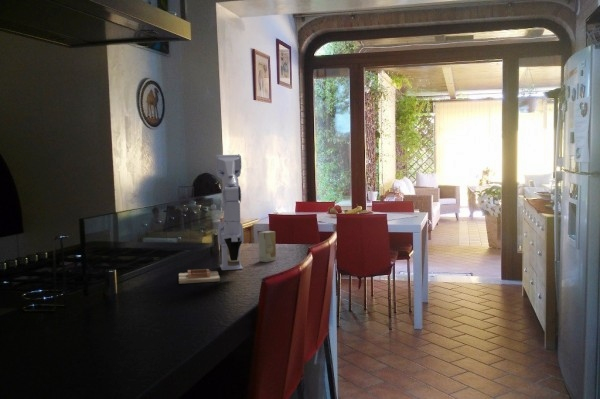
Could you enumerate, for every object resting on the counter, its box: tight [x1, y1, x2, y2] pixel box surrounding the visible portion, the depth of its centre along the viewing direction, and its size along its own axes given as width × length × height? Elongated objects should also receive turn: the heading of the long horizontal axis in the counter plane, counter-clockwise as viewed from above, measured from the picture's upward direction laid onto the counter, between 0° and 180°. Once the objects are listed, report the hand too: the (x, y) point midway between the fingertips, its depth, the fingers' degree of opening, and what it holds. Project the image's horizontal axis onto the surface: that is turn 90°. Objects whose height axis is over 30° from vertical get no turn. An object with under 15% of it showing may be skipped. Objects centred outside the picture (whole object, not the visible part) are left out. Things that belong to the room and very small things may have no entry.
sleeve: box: [227, 246, 239, 266], centre depth 205 cm, size 4×4×7 cm
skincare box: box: [258, 230, 277, 263], centre depth 241 cm, size 6×4×12 cm
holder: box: [178, 268, 221, 284], centre depth 208 cm, size 14×14×2 cm
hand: (233, 259), depth 206 cm, fingers closed on sleeve, 4 cm apart
